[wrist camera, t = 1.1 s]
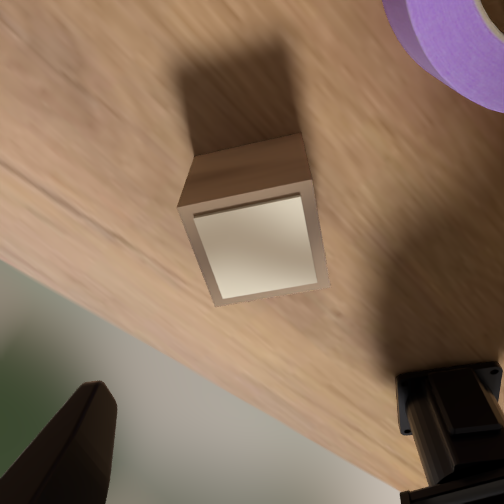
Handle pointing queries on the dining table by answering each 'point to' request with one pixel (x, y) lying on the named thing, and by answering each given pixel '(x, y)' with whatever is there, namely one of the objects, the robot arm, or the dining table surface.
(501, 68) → the masking tape
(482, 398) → the robot arm
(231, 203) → the walnut block
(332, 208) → the dining table surface
